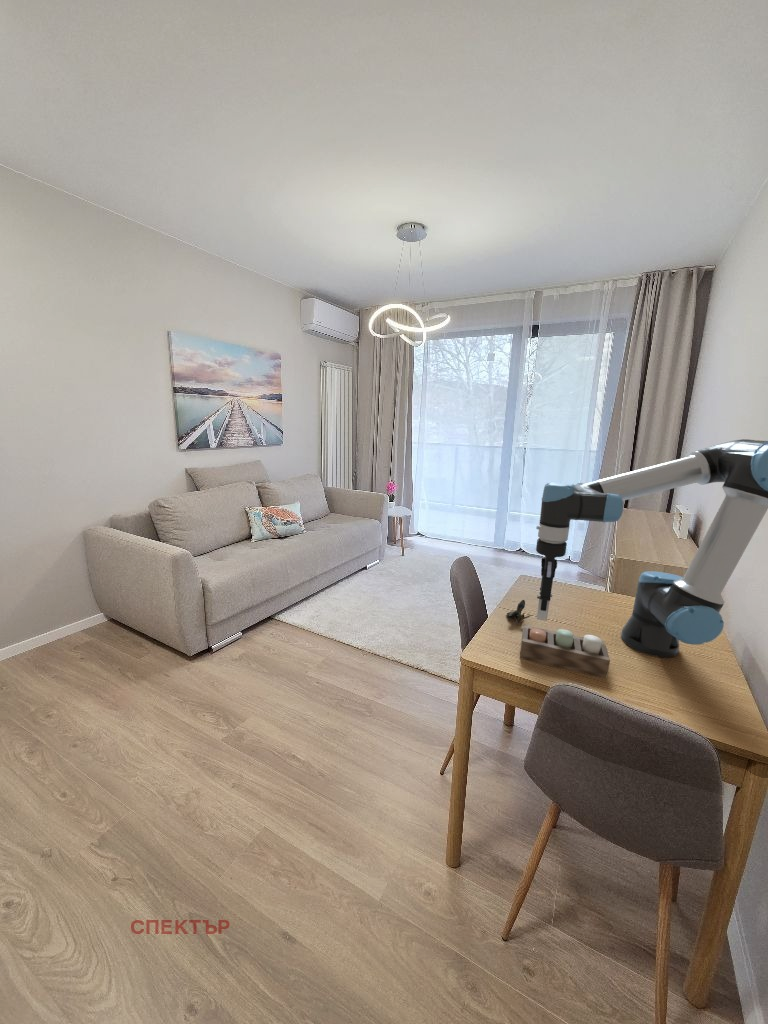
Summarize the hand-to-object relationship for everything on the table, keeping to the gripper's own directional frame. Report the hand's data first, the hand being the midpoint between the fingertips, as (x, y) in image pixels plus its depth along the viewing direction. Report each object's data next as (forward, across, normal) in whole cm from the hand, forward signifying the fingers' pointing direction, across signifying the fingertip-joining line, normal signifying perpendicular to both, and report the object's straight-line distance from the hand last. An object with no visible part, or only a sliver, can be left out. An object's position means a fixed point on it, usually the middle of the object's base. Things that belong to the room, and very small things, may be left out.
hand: (541, 618), depth 117 cm
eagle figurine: (+11, -19, -7) cm, 23 cm away
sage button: (+8, 0, +6) cm, 10 cm away
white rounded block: (+8, 0, +13) cm, 16 cm away
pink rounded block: (+9, 0, -1) cm, 9 cm away
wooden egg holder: (+11, 0, +6) cm, 13 cm away
